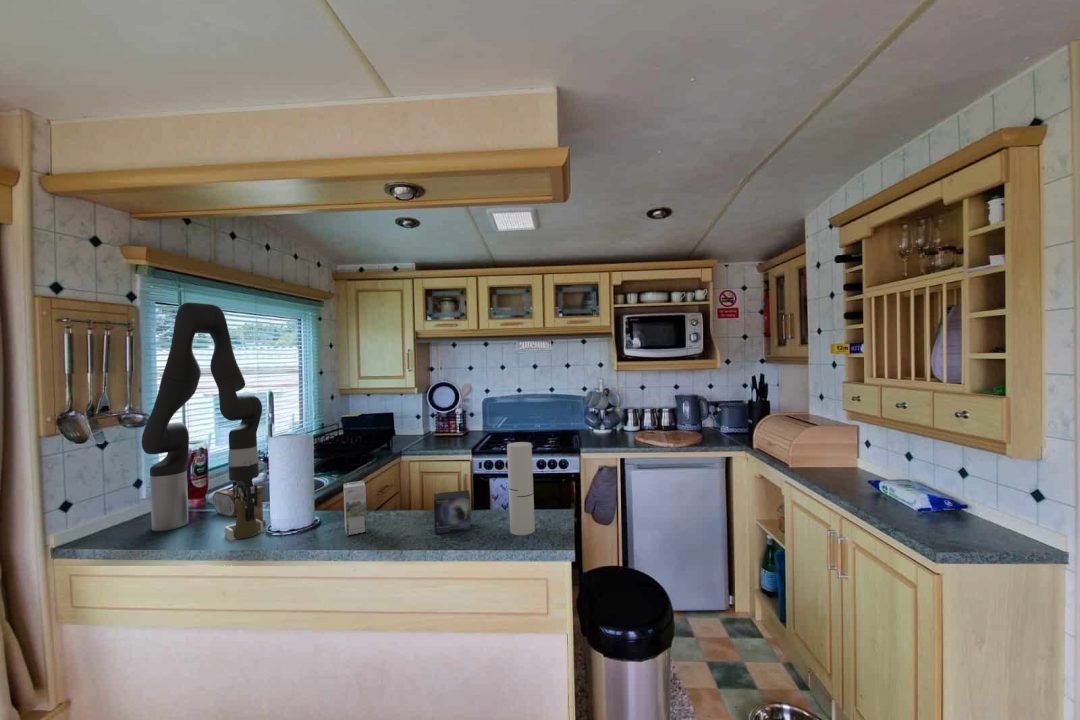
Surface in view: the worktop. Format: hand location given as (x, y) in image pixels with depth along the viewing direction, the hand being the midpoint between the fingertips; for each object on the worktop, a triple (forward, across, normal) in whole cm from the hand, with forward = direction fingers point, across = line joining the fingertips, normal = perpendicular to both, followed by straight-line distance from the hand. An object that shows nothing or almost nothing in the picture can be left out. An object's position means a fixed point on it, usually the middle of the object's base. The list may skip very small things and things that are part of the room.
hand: (245, 517), depth 135 cm
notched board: (+5, -2, 0) cm, 6 cm away
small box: (+6, +48, +39) cm, 62 cm away
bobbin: (+5, -7, +6) cm, 10 cm away
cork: (+5, 0, 0) cm, 5 cm away
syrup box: (+6, +26, +21) cm, 33 cm away
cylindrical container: (+6, +66, +50) cm, 83 cm away
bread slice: (+6, -29, +3) cm, 29 cm away
